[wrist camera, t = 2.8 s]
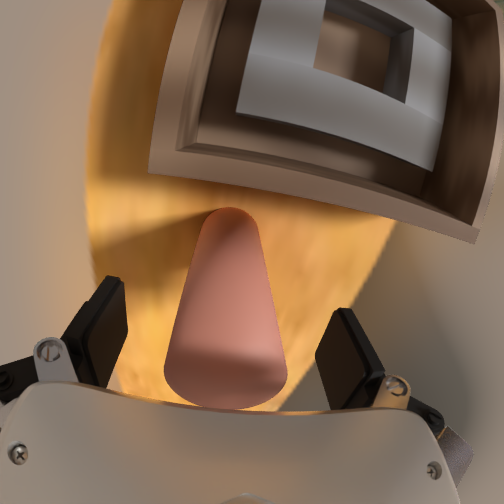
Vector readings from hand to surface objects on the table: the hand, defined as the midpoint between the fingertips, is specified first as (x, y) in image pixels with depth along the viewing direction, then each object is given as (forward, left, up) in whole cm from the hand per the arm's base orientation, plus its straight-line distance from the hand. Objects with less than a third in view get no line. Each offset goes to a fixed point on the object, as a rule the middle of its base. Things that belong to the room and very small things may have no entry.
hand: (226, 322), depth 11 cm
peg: (0, 0, -9) cm, 9 cm away
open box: (-14, +5, -9) cm, 17 cm away
